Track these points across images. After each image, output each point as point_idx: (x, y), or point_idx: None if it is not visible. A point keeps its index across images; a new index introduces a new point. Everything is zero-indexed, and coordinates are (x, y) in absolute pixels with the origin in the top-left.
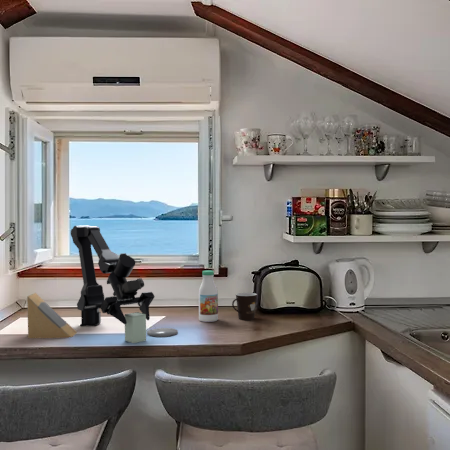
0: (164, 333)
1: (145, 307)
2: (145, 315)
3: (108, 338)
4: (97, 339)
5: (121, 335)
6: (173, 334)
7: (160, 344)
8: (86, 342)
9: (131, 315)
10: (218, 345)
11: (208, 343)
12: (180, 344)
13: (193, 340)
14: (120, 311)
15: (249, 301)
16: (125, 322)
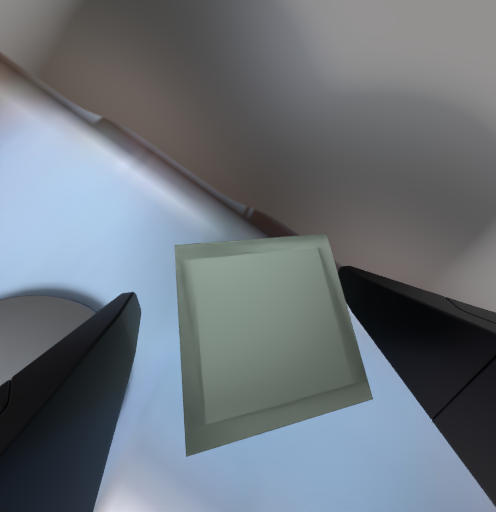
0: (39, 337)
1: (25, 435)
2: (182, 248)
3: (331, 443)
4: (380, 451)
5: (254, 484)
6: (4, 300)
7: (178, 199)
8: (425, 414)
9: (324, 283)
10: (8, 61)
11: (12, 97)
12: (113, 153)
13: (18, 163)
14: (478, 314)
15: None
16: (350, 267)
